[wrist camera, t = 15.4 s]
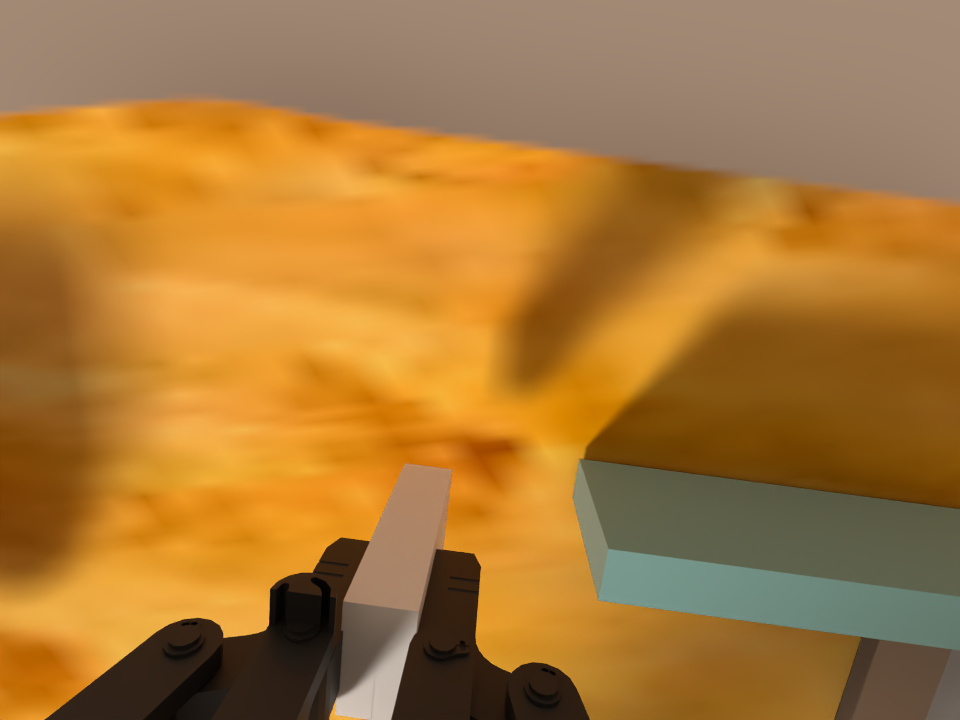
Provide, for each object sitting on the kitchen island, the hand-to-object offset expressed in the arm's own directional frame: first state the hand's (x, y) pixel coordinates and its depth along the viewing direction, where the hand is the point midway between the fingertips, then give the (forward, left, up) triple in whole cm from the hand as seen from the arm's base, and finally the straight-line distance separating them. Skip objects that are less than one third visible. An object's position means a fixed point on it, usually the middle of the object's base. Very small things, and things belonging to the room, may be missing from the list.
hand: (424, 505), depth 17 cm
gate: (0, -13, -4) cm, 13 cm away
